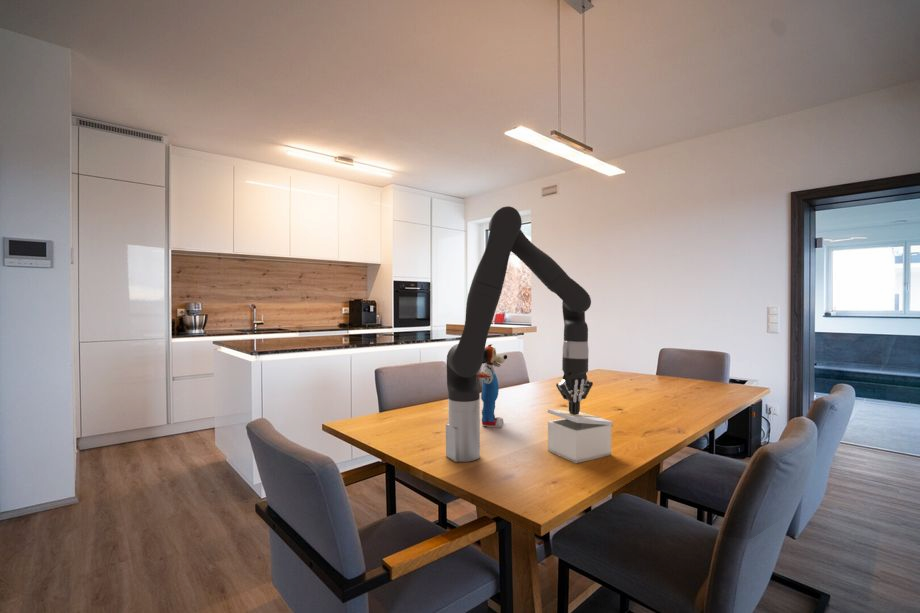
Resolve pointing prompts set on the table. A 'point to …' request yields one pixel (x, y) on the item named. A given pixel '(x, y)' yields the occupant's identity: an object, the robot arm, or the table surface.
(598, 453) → the box
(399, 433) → the table surface
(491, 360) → the toy
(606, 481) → the table surface
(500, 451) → the table surface
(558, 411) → the lid
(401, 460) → the table surface
